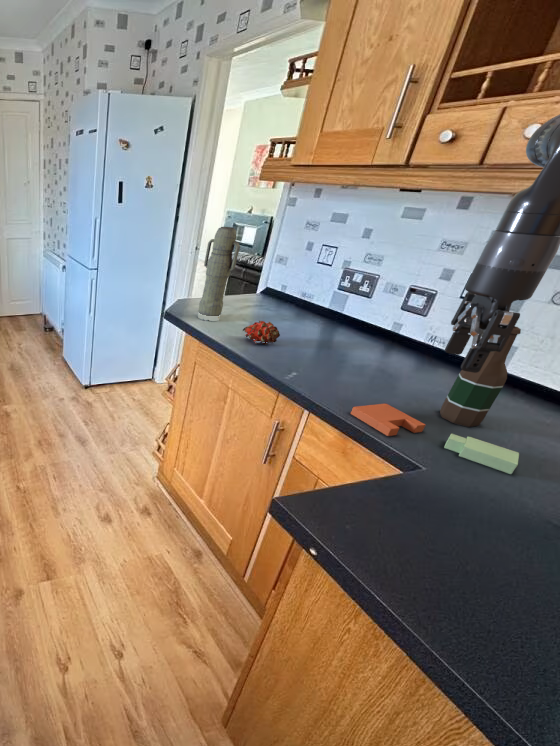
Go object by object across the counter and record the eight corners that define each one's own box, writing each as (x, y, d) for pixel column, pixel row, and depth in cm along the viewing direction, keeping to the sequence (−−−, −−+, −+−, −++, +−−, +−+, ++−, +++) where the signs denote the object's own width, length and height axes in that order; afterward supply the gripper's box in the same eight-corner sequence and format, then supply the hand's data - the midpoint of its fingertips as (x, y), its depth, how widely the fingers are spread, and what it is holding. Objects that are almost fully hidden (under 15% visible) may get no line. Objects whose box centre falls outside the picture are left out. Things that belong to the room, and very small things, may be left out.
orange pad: (382, 410, 105) (386, 403, 104) (422, 431, 96) (426, 424, 95) (350, 413, 103) (353, 406, 102) (387, 436, 94) (391, 428, 93)
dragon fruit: (277, 352, 142) (240, 348, 149) (284, 333, 145) (247, 330, 152) (276, 337, 136) (238, 333, 143) (283, 317, 138) (245, 314, 146)
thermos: (219, 324, 163) (240, 230, 147) (190, 317, 169) (207, 226, 153) (226, 318, 169) (247, 228, 153) (198, 312, 175) (215, 225, 159)
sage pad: (446, 440, 93) (452, 430, 92) (512, 462, 86) (519, 452, 85) (442, 450, 90) (448, 441, 88) (511, 474, 83) (518, 464, 82)
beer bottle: (483, 421, 101) (539, 328, 90) (474, 431, 97) (531, 335, 86) (443, 408, 106) (491, 318, 95) (433, 416, 102) (482, 324, 91)
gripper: (571, 276, 55) (506, 383, 63) (523, 259, 67) (473, 352, 74) (497, 269, 58) (444, 372, 66) (463, 254, 70) (421, 344, 77)
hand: (460, 361), depth 70 cm, fingers open, 8 cm apart
